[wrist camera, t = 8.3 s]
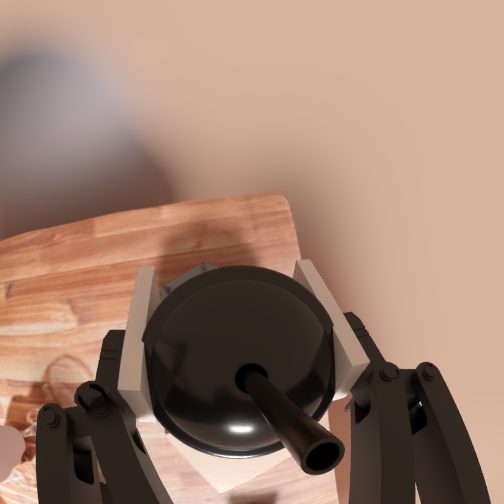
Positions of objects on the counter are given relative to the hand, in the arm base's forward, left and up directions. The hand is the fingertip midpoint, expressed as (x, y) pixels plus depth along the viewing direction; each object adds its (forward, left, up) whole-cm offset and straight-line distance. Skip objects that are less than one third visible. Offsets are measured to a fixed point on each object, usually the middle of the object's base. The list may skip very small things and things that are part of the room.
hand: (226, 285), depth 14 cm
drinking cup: (+3, -2, -10) cm, 10 cm away
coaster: (+20, -9, -24) cm, 32 cm away
